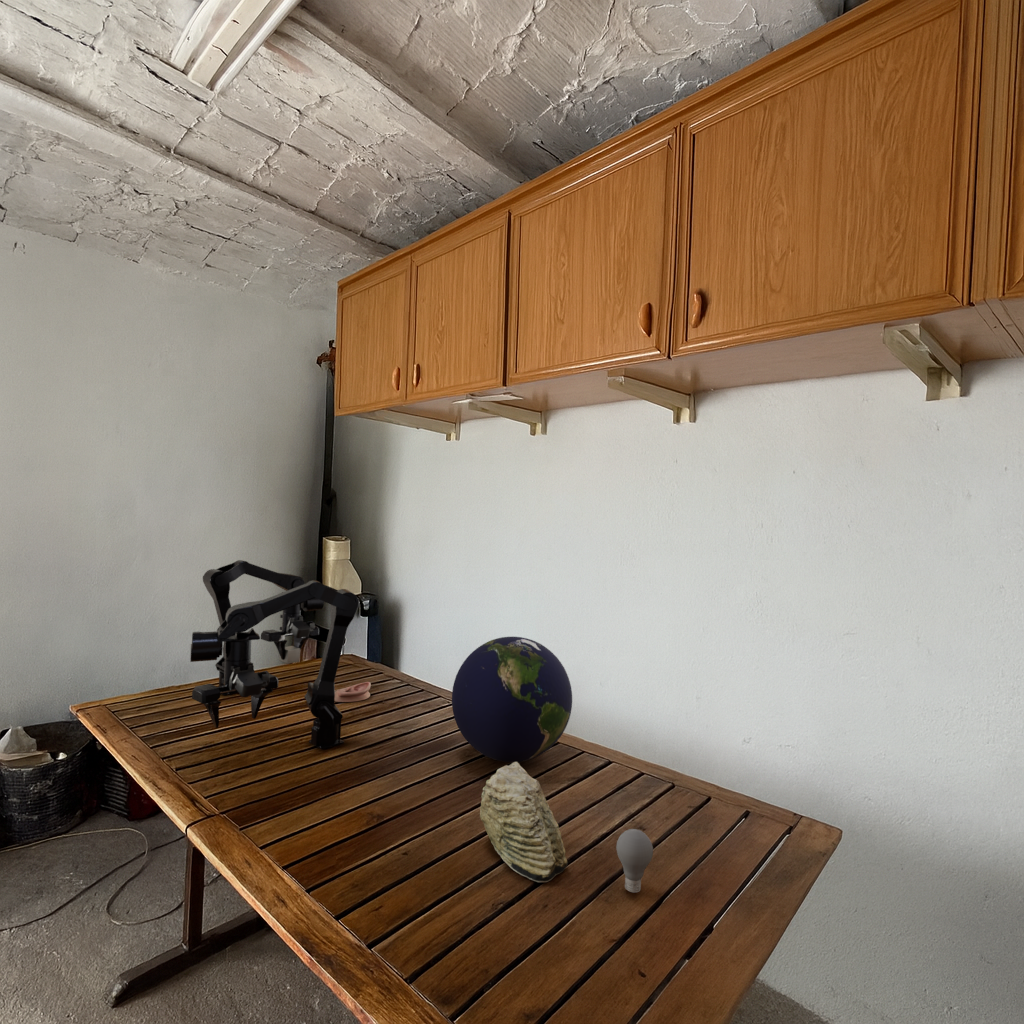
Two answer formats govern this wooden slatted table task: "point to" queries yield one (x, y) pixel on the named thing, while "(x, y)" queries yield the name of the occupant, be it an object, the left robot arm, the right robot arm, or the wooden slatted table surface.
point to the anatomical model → (353, 693)
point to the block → (291, 655)
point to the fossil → (522, 824)
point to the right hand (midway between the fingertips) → (235, 722)
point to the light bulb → (634, 857)
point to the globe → (512, 699)
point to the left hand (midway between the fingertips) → (289, 658)
